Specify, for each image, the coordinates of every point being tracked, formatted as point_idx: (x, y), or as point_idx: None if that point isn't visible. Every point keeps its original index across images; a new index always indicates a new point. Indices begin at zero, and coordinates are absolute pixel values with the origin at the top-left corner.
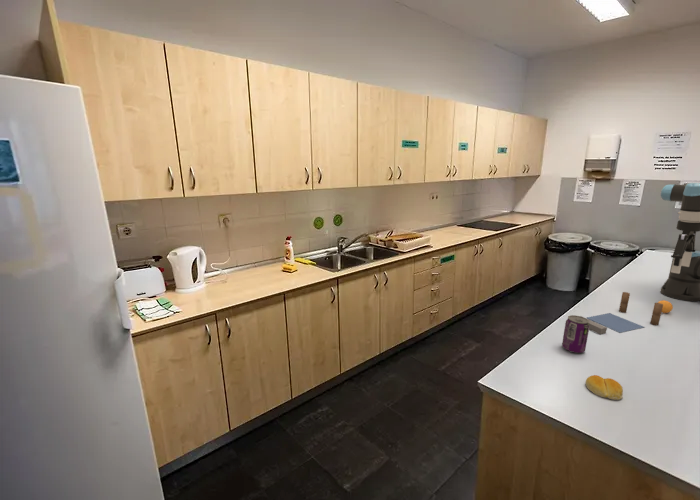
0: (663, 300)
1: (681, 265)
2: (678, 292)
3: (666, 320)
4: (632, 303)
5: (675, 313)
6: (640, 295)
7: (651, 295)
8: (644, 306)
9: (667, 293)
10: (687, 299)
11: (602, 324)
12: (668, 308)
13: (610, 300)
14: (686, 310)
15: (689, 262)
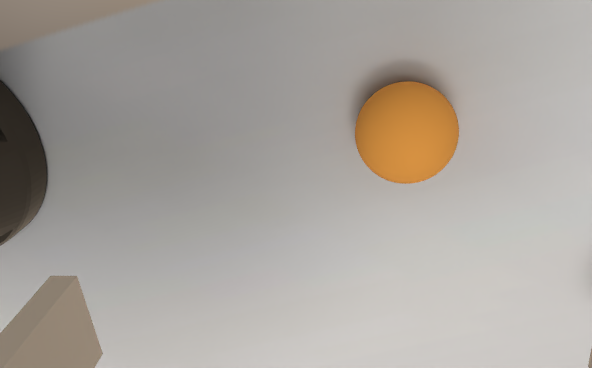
0: (401, 165)
1: (99, 346)
2: (4, 161)
3: (575, 49)
4: (388, 274)
5: (350, 58)
6: (182, 285)
7: (119, 248)
8: (383, 218)
9: (34, 201)
10: (4, 94)
11: None
12: (446, 100)
13: (447, 360)
14: (212, 33)
15: (35, 330)
